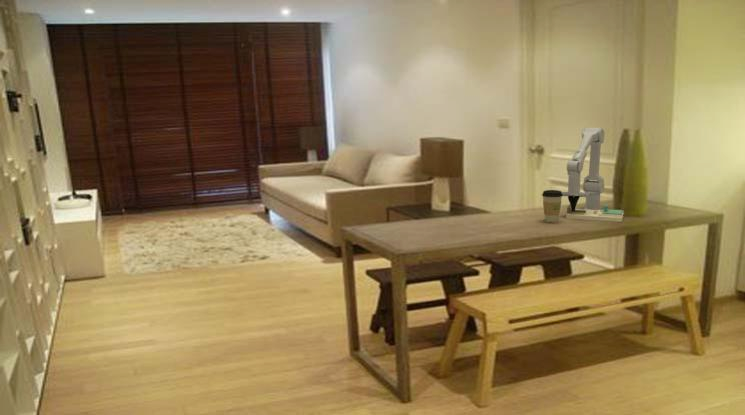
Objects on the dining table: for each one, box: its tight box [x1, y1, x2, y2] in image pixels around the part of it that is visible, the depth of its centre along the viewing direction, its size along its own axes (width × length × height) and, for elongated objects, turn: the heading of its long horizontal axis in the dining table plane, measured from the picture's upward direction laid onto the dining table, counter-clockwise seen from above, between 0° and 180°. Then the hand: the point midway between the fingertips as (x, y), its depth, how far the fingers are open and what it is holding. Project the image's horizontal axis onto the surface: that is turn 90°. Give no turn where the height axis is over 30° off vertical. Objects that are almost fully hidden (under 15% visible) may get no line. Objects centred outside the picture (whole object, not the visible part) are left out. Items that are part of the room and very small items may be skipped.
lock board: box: [565, 208, 625, 223], centre depth 310 cm, size 16×26×3 cm, turn 65°
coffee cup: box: [541, 189, 564, 223], centre depth 302 cm, size 10×10×15 cm
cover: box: [602, 204, 623, 215], centre depth 305 cm, size 9×9×4 cm
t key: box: [566, 203, 586, 214], centre depth 313 cm, size 9×9×3 cm
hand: (573, 210), depth 311 cm, fingers closed
